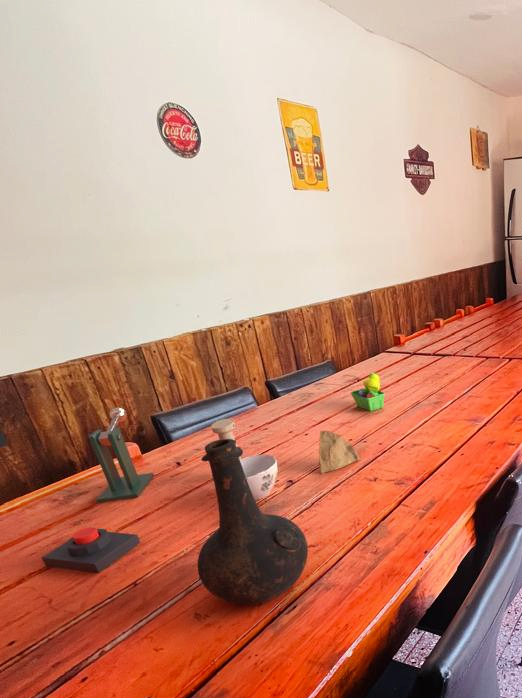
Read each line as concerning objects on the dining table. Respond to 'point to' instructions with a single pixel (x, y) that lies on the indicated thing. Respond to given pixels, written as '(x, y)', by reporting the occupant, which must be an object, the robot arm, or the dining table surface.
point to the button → (85, 536)
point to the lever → (112, 425)
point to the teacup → (260, 474)
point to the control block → (92, 552)
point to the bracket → (118, 485)
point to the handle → (224, 429)
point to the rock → (335, 452)
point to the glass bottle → (247, 538)
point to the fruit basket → (369, 394)
